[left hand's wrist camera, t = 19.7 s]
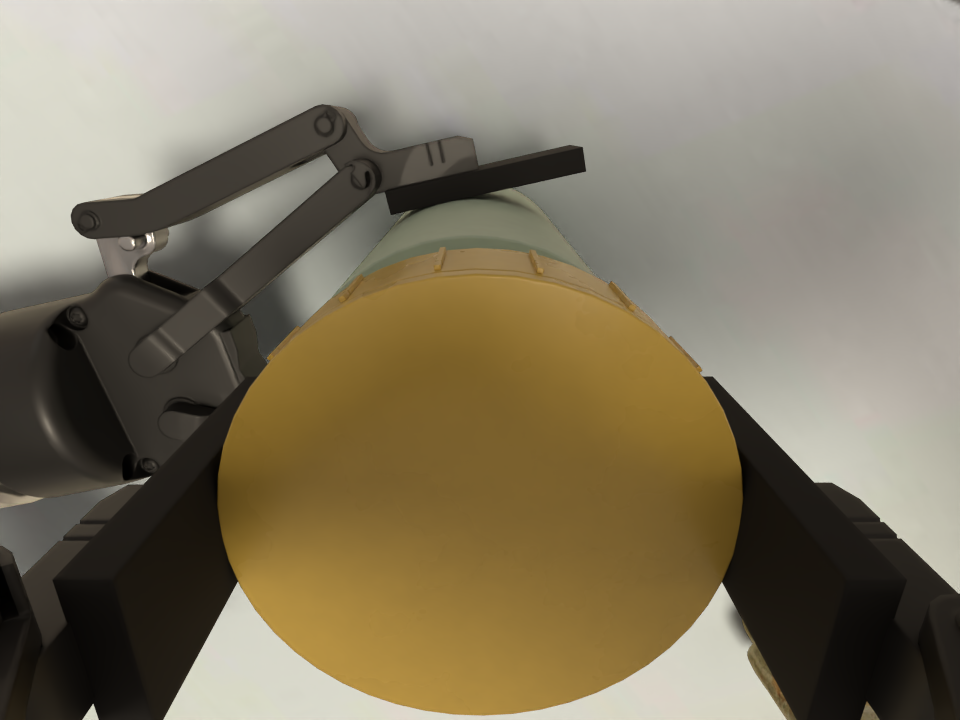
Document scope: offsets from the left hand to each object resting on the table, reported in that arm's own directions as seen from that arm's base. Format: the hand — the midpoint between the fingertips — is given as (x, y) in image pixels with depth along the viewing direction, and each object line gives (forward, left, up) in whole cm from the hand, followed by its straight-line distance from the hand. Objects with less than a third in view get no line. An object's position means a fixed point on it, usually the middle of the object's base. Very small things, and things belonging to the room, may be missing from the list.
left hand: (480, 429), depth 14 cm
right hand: (-4, -3, -9) cm, 10 cm away
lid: (0, 0, +3) cm, 3 cm away
